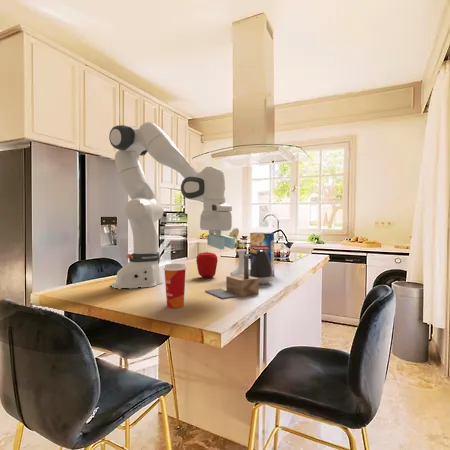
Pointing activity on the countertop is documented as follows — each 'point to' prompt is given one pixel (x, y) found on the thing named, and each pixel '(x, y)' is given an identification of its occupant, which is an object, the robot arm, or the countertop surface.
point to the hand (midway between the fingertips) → (214, 241)
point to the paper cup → (175, 284)
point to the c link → (221, 241)
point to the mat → (221, 293)
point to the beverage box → (262, 246)
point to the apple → (206, 264)
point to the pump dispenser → (261, 267)
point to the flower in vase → (240, 267)
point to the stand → (243, 282)
